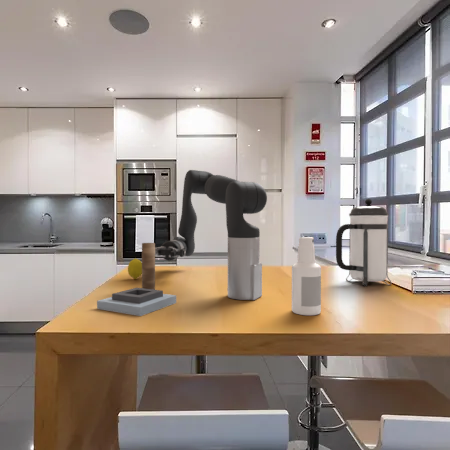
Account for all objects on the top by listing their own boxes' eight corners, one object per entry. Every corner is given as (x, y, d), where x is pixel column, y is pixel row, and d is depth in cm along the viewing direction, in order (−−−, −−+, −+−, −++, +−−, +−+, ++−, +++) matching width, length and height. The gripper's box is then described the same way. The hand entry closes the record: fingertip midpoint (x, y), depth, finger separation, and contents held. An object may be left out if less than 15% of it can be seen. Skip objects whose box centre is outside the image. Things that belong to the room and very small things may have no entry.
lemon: (138, 280, 122) (138, 259, 122) (125, 280, 123) (125, 258, 123) (145, 278, 127) (145, 257, 127) (132, 277, 128) (132, 257, 128)
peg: (157, 290, 105) (157, 242, 105) (149, 292, 102) (149, 243, 101) (147, 289, 107) (147, 242, 107) (139, 291, 103) (139, 243, 103)
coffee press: (349, 277, 129) (349, 200, 129) (394, 282, 120) (395, 199, 119) (335, 284, 115) (335, 198, 115) (385, 290, 105) (386, 196, 105)
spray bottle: (315, 317, 75) (316, 238, 75) (287, 313, 79) (287, 237, 79) (324, 310, 81) (324, 237, 81) (297, 306, 85) (297, 236, 84)
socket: (176, 302, 89) (176, 289, 89) (140, 316, 76) (140, 300, 76) (136, 297, 95) (136, 285, 95) (97, 308, 82) (97, 294, 82)
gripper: (155, 240, 132) (140, 243, 116) (190, 240, 131) (179, 243, 114) (155, 258, 132) (139, 264, 116) (190, 259, 131) (179, 265, 115)
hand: (159, 254), depth 115 cm, fingers open, 8 cm apart
